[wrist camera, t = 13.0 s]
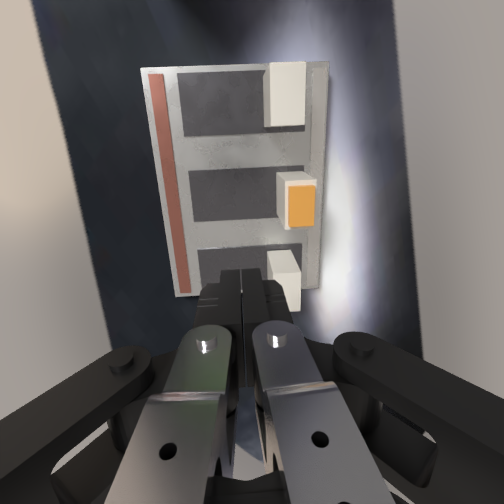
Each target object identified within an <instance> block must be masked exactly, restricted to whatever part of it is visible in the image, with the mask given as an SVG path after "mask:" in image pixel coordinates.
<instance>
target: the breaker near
mask: <svg viewBox="0 0 504 504" xmlns="http://www.w3.org/2000/svg"><path fill="white" fill-rule="evenodd" d="M305 93H306V61H300V62H272V63H269V65H268V67H267V69H266V71H265V73H264V75H263V102H264V127H281V126H297V125H305Z"/></svg>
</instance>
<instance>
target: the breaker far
mask: <svg viewBox="0 0 504 504" xmlns="http://www.w3.org/2000/svg"><path fill="white" fill-rule="evenodd" d="M267 276H268V280H274V279H275V280H276V281H277V282H278V283H279V284H281V285H282V287H283V291H284V295H285V297H286V302H287V304H288V307H289V311H290V312H292V311H300V306H301V271H300V268H299V266H298V264H297V262H296V260H295V258H294V256H293V254H292V252H291V250H275V251H267Z"/></svg>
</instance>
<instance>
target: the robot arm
mask: <svg viewBox="0 0 504 504" xmlns="http://www.w3.org/2000/svg"><path fill="white" fill-rule="evenodd" d="M241 272H242V293H243V314H244V333H245V350H246V367H247V384H248V387H252V386H254V391H255V407H256V416H257V422H258V428H259V434H260V441H261V447H262V453H263V459H264V465H265V472H266V475H263V476H261V477H258V478H255V479H253V480H249V481H242V480H237V479H233V466H234V453H235V440H236V427H237V413H238V410H237V404H238V401H239V388H240V387H245V363H244V339H243V316H242V298H241V282H240V269H232V270H221V274H220V283H208V284H207V285H206V286H205V287H204V288H203V289H202V290H201V291H200V296H199V300H198V305H197V310H196V314H195V319H194V324H193V329H192V330H190V331H189V332H187V333H186V334H185V335H184V337H183V338H182V340H181V343H180V346H179V348H178V349H176V350H174V351H171V352H169V353H165V354H162V355H159V356H155V357H152V358H151V355H150V352H149V351H148V350H147V349H146V348H144V347H141V346H125V347H121V348H118V349H115V350H113V351H111V352H109V353H107V354H105V355H104V356H102V357H101V358H99V359H98V360H96V361H94V362H93V363H91V364H89V365H88V366H86V367H85V368H83V369H81V370H80V371H78V372H77V373H75V374H73V375H72V376H70V377H69V378H67V379H65V380H64V381H62V382H61V383H59V384H58V385H56V386H54V387H53V388H51V389H50V390H48V391H46V392H45V393H43V394H42V395H40V396H38V397H37V398H35V399H34V400H32V401H30V402H29V403H27V404H26V405H24V406H22V407H21V408H19V409H18V410H16V411H15V412H13V413H11V414H10V415H8V416H6V417H5V418H3V419H2V420H0V504H409V503H407V502H406V501H404V500H403V499H402V498H400V497H399V496H397V495H396V494H394V493H392V492H390V491H389V489H388V487H387V485H386V484H385V481H384V479H386V480H387V481H388V482H389V483H390V484H392V485H393V486H394V487H395V488H397V489H398V490H399V491H400V492H401V493H402V494H404V495H405V496H406V497H407V498H409V499H410V500H411V501H412V502H414V503H415V504H504V399H502V398H500V397H498V396H496V395H494V394H492V393H490V392H488V391H486V390H484V389H482V388H480V387H478V386H476V385H474V384H472V383H469V382H467V381H465V380H463V379H461V378H459V377H457V376H455V375H453V374H451V373H449V372H447V371H445V370H443V369H441V368H439V367H437V366H434V365H432V364H431V363H428V362H426V361H424V360H422V359H420V358H418V357H416V356H414V355H412V354H410V353H408V352H406V351H404V350H402V349H400V348H398V347H396V346H394V345H392V344H390V343H387V342H385V341H383V340H381V339H379V338H377V337H375V336H373V335H370V334H367V333H363V332H346V333H343V334H341V335H339V336H338V337H337V338H336V339H335V340H334V343H333V345H331V344H325V343H319V342H315V341H311V340H309V339H307V338H305V337H303V335H302V332H301V331H300V329H299V328H298V327H297V326H295V325H294V324H293V321H292V317H291V314H290V311H289V307H288V304H287V302H286V297H285V295H284V291H283V287H282V285H281V284H279V283H278V282H277V281H276V280H275V279H274V280H262V276H261V270H260V268H249V269H241ZM383 403H384V404H385V405H387V406H388V407H390V408H391V409H393V410H394V411H396V412H398V413H399V414H401V415H402V416H404V417H405V418H407V419H408V420H410V421H412V422H413V423H415V424H416V425H418V426H419V427H421V428H422V429H424V430H425V431H426V432H428V433H429V434H430V435H431V436H432V438H433V439H434V440H435V442H436V443H434V442H432V441H431V440H429V439H428V438H426V437H424V436H423V435H422V434H420V433H419V432H417V431H416V430H414V429H412V428H411V427H409V426H408V425H406V424H405V423H403V422H402V421H400V420H399V419H397V418H396V417H394V416H393V415H391V414H390V413H388V412H387V411H385V410H383V409H382V405H383ZM106 421H107V424H108V427H109V428H108V429H107V430H106V431H105V432H103V433H102V434H101V435H100V436H99V437H97V438H96V439H95V440H94V441H92V442H91V443H90V444H89V445H88V446H86V447H85V448H84V449H83V450H82V451H80V452H79V453H78V454H77V455H76V456H74V457H73V458H72V459H71V460H70V461H68V462H67V463H66V464H65V465H63V466H62V467H61V468H60V469H59V470H57V471H56V472H55V473H53V474H51V472H52V470H53V468H54V466H55V465H56V463H57V462H58V461H59V460H60V459H61V458H62V457H63V456H64V455H65V454H66V453H68V452H69V451H70V450H71V449H73V448H74V447H75V446H76V445H78V444H79V443H80V442H81V441H82V440H84V439H85V438H86V437H88V436H89V435H90V434H91V433H92V432H94V431H95V430H96V429H97V428H99V427H100V426H101V425H102V424H103V423H105V422H106ZM383 478H384V479H383Z"/></svg>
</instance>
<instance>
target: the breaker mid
mask: <svg viewBox="0 0 504 504" xmlns="http://www.w3.org/2000/svg"><path fill="white" fill-rule="evenodd" d="M316 187H317V179H315V178H313V177H312V176H310V175H308V174H307V173H305V172H303V171H292V172H276V205H277V215H278V217H279V219H280V221H281V223H282V225H283V227H284V229H285V230H291V229H309V228H315V212H316Z"/></svg>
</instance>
